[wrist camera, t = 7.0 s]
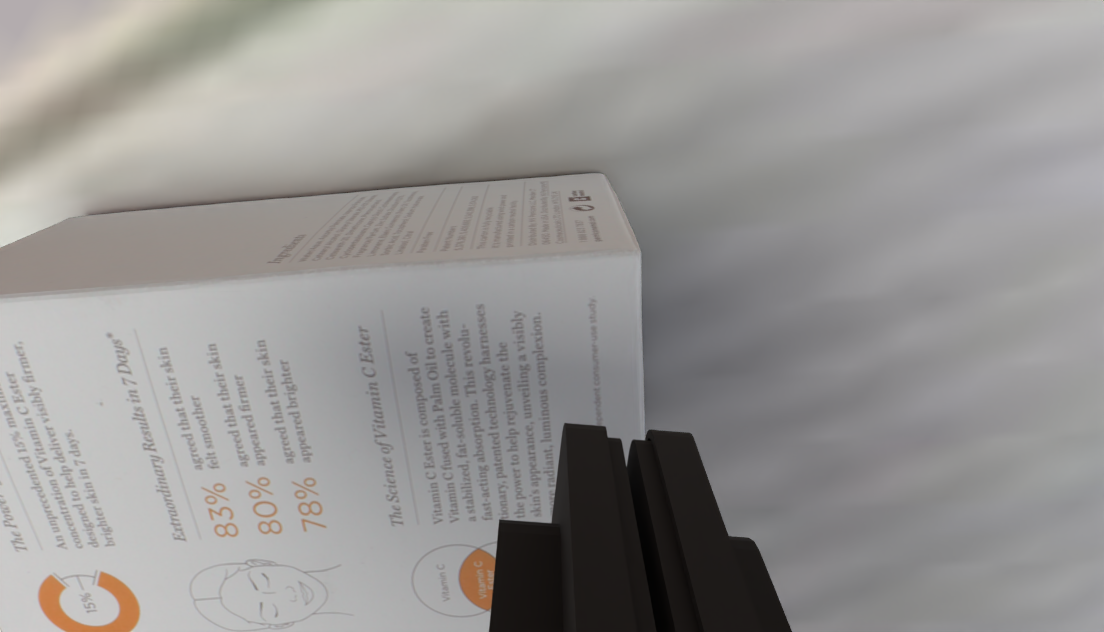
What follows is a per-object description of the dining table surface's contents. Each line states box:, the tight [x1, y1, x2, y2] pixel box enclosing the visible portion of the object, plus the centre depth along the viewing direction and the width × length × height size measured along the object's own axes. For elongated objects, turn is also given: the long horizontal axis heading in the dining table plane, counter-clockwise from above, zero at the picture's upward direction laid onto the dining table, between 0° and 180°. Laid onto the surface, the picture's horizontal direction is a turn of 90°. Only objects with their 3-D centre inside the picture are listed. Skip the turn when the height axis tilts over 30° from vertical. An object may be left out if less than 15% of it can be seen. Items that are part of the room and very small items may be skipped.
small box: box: [0, 173, 645, 632], centre depth 16 cm, size 8×6×13 cm
